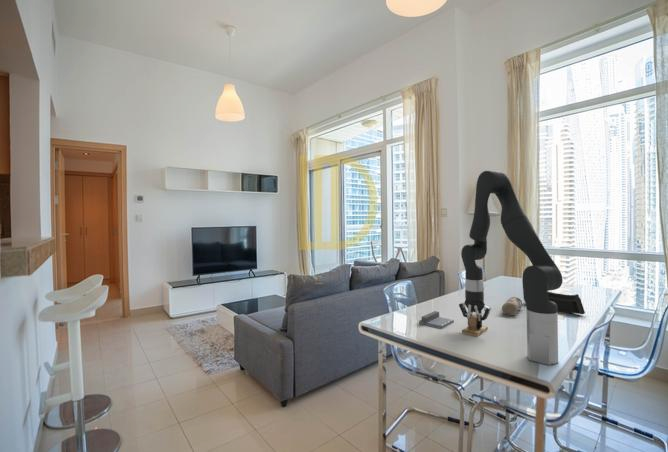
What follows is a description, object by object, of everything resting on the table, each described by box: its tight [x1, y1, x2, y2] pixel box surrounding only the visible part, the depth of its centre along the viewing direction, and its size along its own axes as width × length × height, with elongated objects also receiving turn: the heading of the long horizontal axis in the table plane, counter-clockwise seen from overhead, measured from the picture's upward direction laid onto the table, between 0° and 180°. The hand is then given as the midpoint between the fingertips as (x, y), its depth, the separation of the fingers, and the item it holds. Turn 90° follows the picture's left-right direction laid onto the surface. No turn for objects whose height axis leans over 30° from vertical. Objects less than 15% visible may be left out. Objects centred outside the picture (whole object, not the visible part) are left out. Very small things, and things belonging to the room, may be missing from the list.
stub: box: [461, 313, 489, 337], centre depth 143 cm, size 12×7×7 cm, turn 135°
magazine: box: [548, 291, 586, 315], centre depth 173 cm, size 17×3×30 cm
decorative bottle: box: [501, 296, 524, 316], centre depth 174 cm, size 26×8×7 cm, turn 142°
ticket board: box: [418, 310, 455, 329], centre depth 156 cm, size 13×12×4 cm
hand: (474, 327), depth 143 cm, fingers closed on stub, 3 cm apart
